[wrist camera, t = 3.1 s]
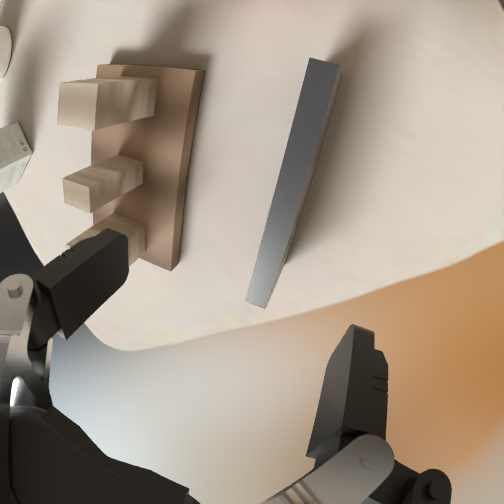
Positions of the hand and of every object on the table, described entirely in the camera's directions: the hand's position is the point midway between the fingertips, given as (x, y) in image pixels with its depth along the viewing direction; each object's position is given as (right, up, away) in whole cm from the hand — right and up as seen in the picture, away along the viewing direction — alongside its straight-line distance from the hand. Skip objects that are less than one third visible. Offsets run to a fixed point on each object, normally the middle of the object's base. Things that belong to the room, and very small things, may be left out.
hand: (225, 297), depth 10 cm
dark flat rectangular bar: (+5, +7, +12) cm, 15 cm away
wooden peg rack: (-9, +9, +15) cm, 20 cm away
